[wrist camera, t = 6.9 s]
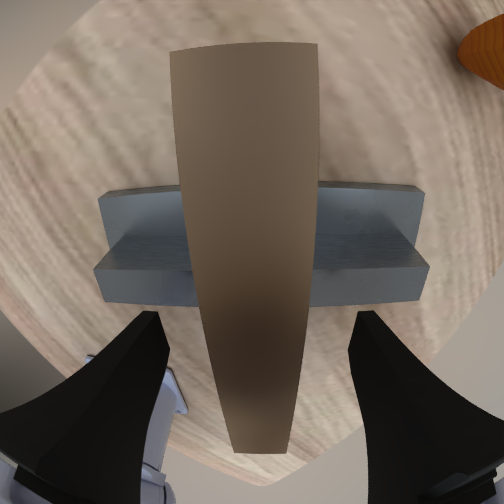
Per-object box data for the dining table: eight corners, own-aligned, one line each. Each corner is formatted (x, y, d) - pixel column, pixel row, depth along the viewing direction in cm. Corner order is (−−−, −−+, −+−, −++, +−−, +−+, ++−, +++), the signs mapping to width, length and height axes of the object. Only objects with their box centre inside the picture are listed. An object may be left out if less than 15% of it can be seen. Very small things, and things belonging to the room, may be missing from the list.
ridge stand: (132, 288, 18) (105, 333, 14) (107, 192, 15) (63, 223, 11) (394, 286, 17) (419, 333, 13) (415, 186, 14) (458, 217, 10)
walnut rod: (238, 399, 17) (234, 452, 13) (207, 71, 8) (169, 51, 5) (284, 399, 17) (286, 453, 13) (296, 68, 8) (317, 43, 4)
